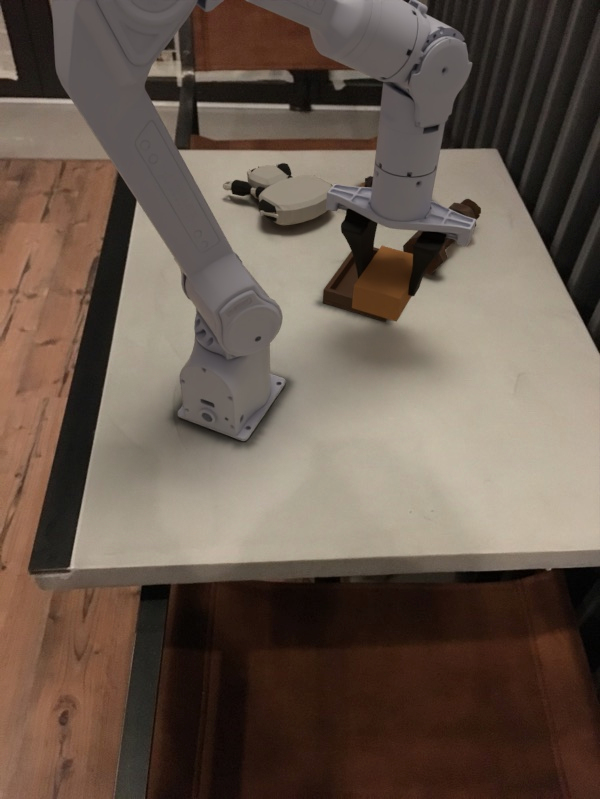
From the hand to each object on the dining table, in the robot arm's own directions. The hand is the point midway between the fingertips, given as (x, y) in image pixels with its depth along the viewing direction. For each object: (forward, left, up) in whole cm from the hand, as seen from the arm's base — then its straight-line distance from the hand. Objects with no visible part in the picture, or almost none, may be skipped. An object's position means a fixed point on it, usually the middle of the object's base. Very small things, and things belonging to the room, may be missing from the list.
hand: (389, 283), depth 72 cm
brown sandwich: (+31, +9, -9) cm, 34 cm away
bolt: (+22, -1, -8) cm, 24 cm away
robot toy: (+21, +23, -9) cm, 33 cm away
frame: (+9, +5, -8) cm, 14 cm away
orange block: (0, 0, -1) cm, 1 cm away
